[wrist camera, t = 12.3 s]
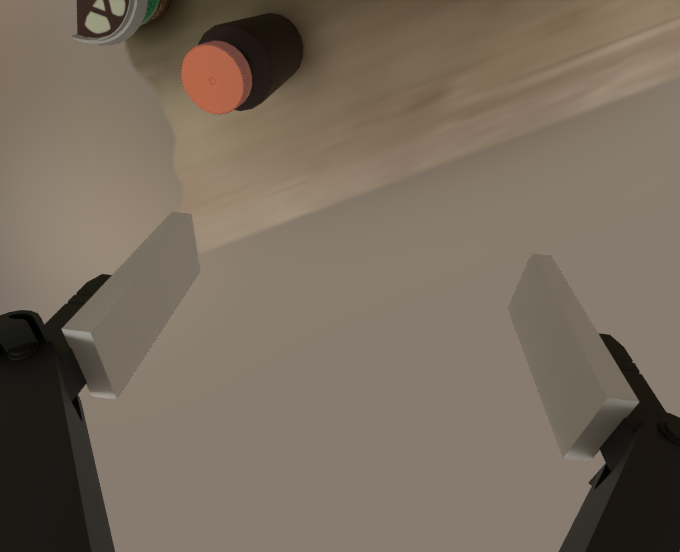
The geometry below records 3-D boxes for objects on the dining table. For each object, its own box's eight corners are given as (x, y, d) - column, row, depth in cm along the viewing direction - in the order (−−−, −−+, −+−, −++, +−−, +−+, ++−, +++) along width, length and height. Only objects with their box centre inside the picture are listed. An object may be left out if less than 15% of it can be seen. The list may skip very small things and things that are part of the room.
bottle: (235, 27, 46) (149, 49, 30) (288, 2, 44) (228, 11, 28) (261, 88, 49) (198, 138, 33) (312, 68, 47) (271, 110, 31)
